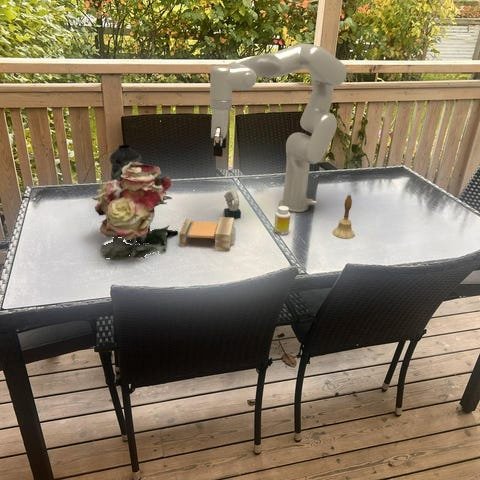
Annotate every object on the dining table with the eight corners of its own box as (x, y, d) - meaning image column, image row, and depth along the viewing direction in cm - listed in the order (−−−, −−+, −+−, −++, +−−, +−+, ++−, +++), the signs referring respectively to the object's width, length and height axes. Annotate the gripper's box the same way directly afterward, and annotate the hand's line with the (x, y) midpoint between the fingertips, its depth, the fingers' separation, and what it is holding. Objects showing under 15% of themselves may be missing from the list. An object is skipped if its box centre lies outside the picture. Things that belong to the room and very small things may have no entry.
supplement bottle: (291, 234, 173) (293, 209, 168) (278, 236, 170) (280, 212, 165) (283, 227, 177) (286, 203, 172) (271, 230, 175) (273, 206, 170)
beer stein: (146, 194, 199) (143, 138, 187) (153, 213, 183) (150, 153, 171) (107, 198, 194) (102, 140, 182) (111, 217, 178) (105, 156, 166)
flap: (218, 224, 168) (218, 221, 168) (213, 238, 159) (213, 235, 158) (192, 223, 169) (191, 220, 169) (186, 237, 159) (185, 234, 159)
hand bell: (341, 240, 170) (348, 201, 162) (328, 231, 176) (334, 193, 169) (358, 236, 173) (366, 198, 166) (345, 227, 180) (351, 190, 172)
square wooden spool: (233, 233, 171) (233, 217, 168) (229, 251, 159) (229, 234, 156) (186, 229, 172) (186, 214, 169) (179, 247, 160) (178, 230, 157)
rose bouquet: (103, 226, 171) (95, 149, 157) (181, 229, 172) (179, 153, 158) (82, 262, 149) (70, 175, 135) (171, 265, 149) (169, 180, 135)
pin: (235, 239, 167) (235, 227, 165) (233, 244, 163) (234, 233, 161) (213, 237, 167) (213, 225, 165) (211, 243, 164) (211, 231, 161)
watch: (234, 211, 188) (235, 187, 183) (242, 220, 181) (243, 194, 176) (221, 213, 186) (222, 188, 180) (229, 222, 179) (230, 196, 174)
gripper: (213, 98, 165) (213, 144, 174) (206, 109, 150) (205, 158, 159) (234, 99, 165) (232, 145, 173) (228, 110, 150) (227, 160, 158)
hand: (219, 151), depth 166 cm, fingers open, 9 cm apart
